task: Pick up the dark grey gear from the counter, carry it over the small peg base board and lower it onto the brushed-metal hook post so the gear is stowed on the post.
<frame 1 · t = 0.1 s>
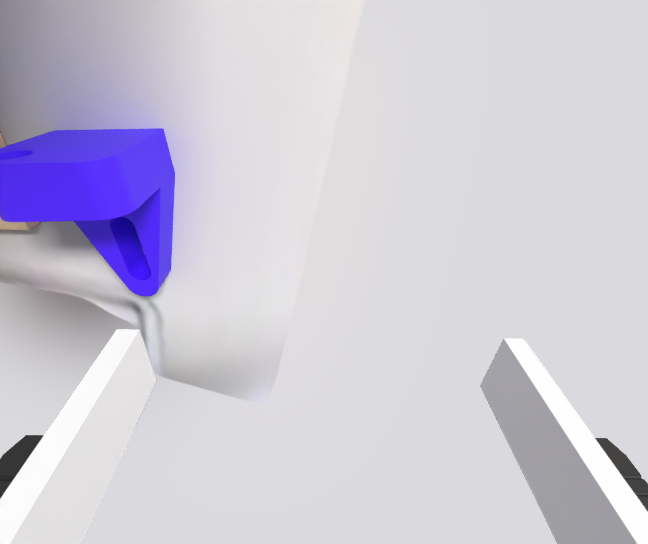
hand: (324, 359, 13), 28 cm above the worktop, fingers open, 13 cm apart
bracket: (138, 211, 39), on the worktop
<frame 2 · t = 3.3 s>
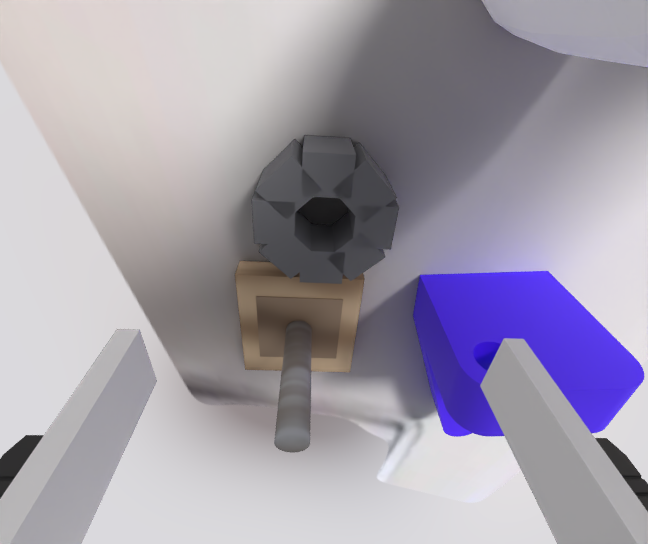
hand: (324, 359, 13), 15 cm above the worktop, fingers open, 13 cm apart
bracket: (460, 344, 34), on the worktop
peg base board: (299, 313, 31), on the worktop
dark grey gear: (323, 201, 25), on the worktop
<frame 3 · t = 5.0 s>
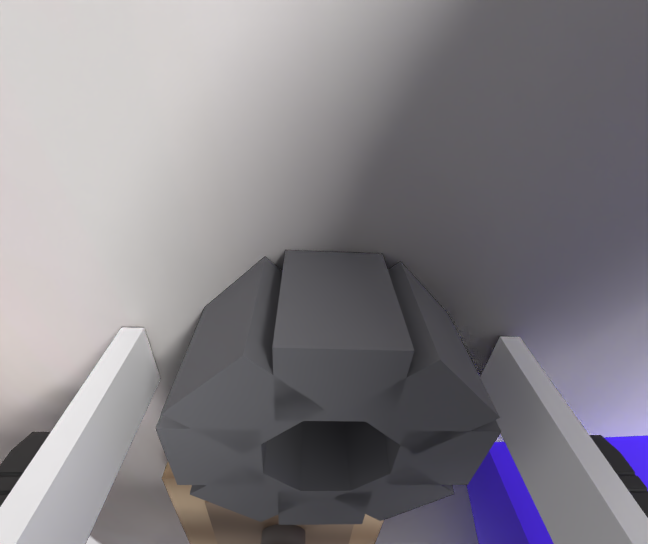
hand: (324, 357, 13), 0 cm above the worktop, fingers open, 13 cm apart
bracket: (533, 508, 22), on the worktop
peg base board: (286, 487, 19), on the worktop
dark grey gear: (325, 353, 13), on the worktop
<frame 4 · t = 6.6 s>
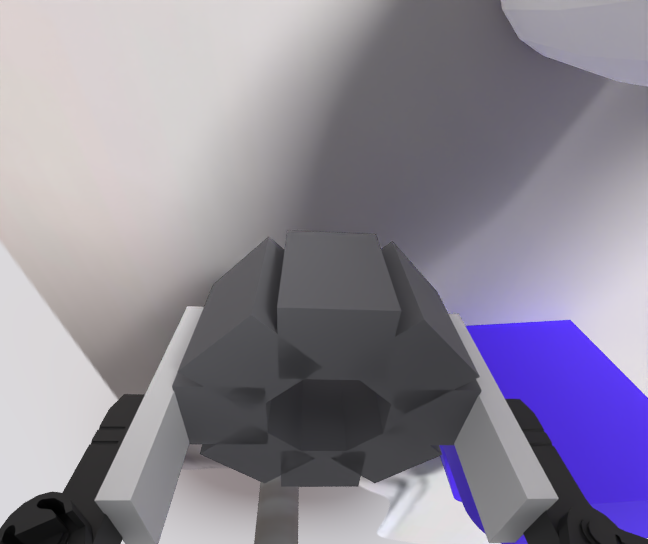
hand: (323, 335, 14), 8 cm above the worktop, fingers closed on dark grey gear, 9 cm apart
bracket: (470, 398, 30), on the worktop
peg base board: (286, 372, 26), on the worktop
dark grey gear: (323, 329, 14), point 8 cm above the worktop, touching gripper
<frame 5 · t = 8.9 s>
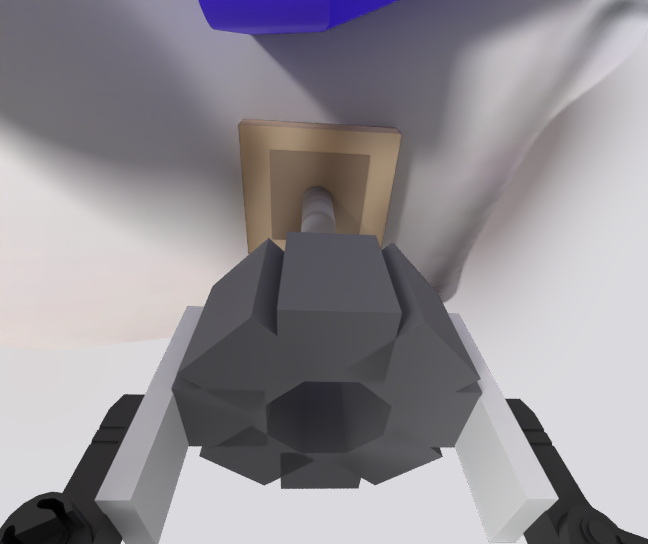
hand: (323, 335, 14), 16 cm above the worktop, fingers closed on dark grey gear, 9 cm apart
peg base board: (317, 190, 27), on the worktop
dark grey gear: (323, 330, 14), point 16 cm above the worktop, touching gripper
when the fingers open (6 cm above the worktop, at t = 11.5 s): dark grey gear drops 4 cm, resting on peg base board.
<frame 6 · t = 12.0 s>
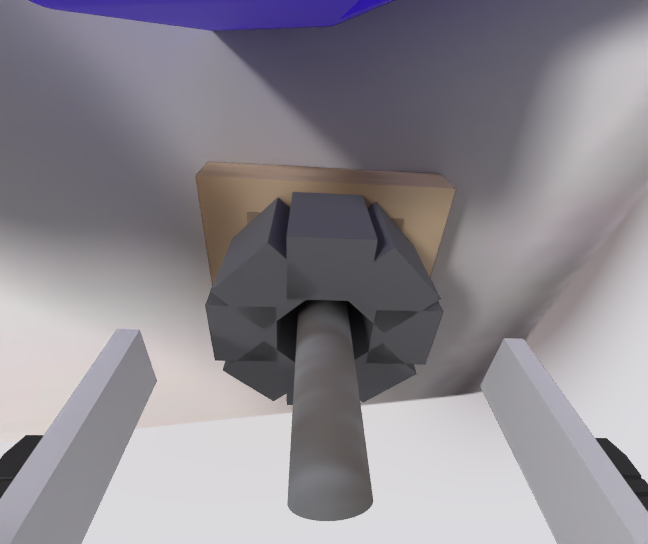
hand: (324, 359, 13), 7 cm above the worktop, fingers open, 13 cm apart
peg base board: (320, 258, 19), on the worktop
dark grey gear: (321, 279, 17), point 2 cm above the worktop, touching peg base board
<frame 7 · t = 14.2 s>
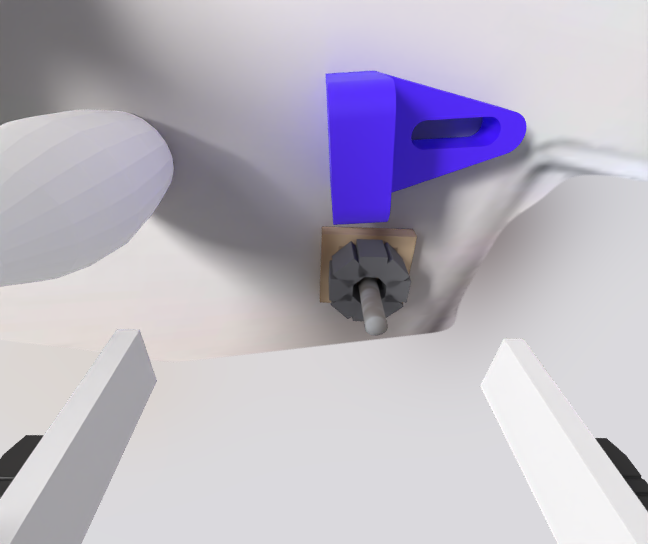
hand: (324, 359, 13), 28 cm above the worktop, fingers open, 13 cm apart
bracket: (415, 129, 35), on the worktop
bottle: (132, 156, 36), on the worktop
peg base board: (363, 263, 43), on the worktop
dark grey gear: (365, 271, 42), point 2 cm above the worktop, touching peg base board
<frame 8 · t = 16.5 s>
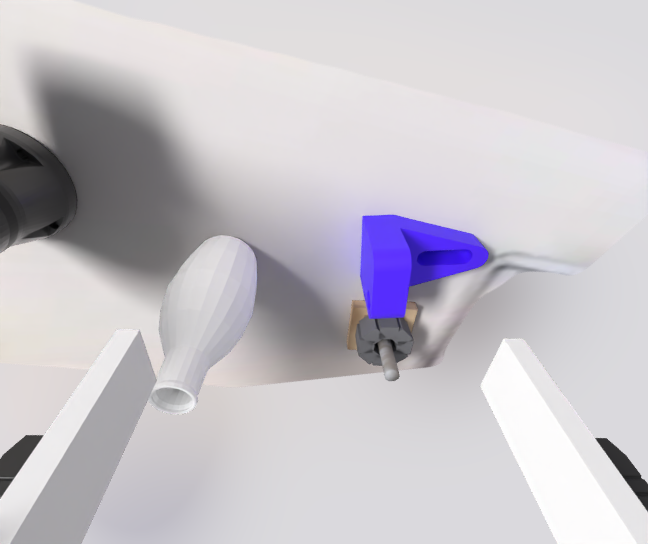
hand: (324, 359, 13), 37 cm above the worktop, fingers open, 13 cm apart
bracket: (418, 244, 53), on the worktop
bottle: (228, 258, 53), on the worktop
peg base board: (379, 322, 61), on the worktop
dark grey gear: (381, 330, 60), point 2 cm above the worktop, touching peg base board
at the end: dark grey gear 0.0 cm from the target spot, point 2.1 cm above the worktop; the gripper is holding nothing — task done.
